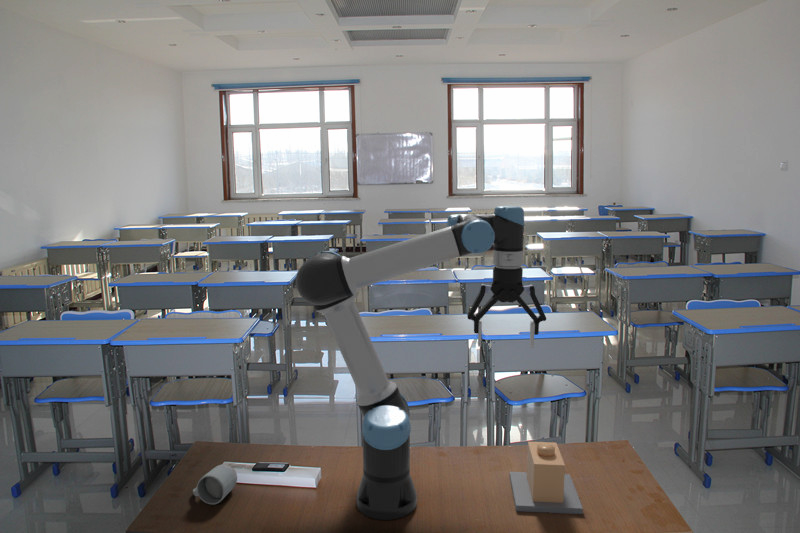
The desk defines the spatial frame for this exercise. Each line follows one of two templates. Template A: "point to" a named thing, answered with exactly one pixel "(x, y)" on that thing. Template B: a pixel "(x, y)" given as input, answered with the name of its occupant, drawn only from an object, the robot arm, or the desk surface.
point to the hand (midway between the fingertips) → (505, 345)
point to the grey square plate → (528, 505)
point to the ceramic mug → (216, 484)
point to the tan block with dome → (545, 472)
